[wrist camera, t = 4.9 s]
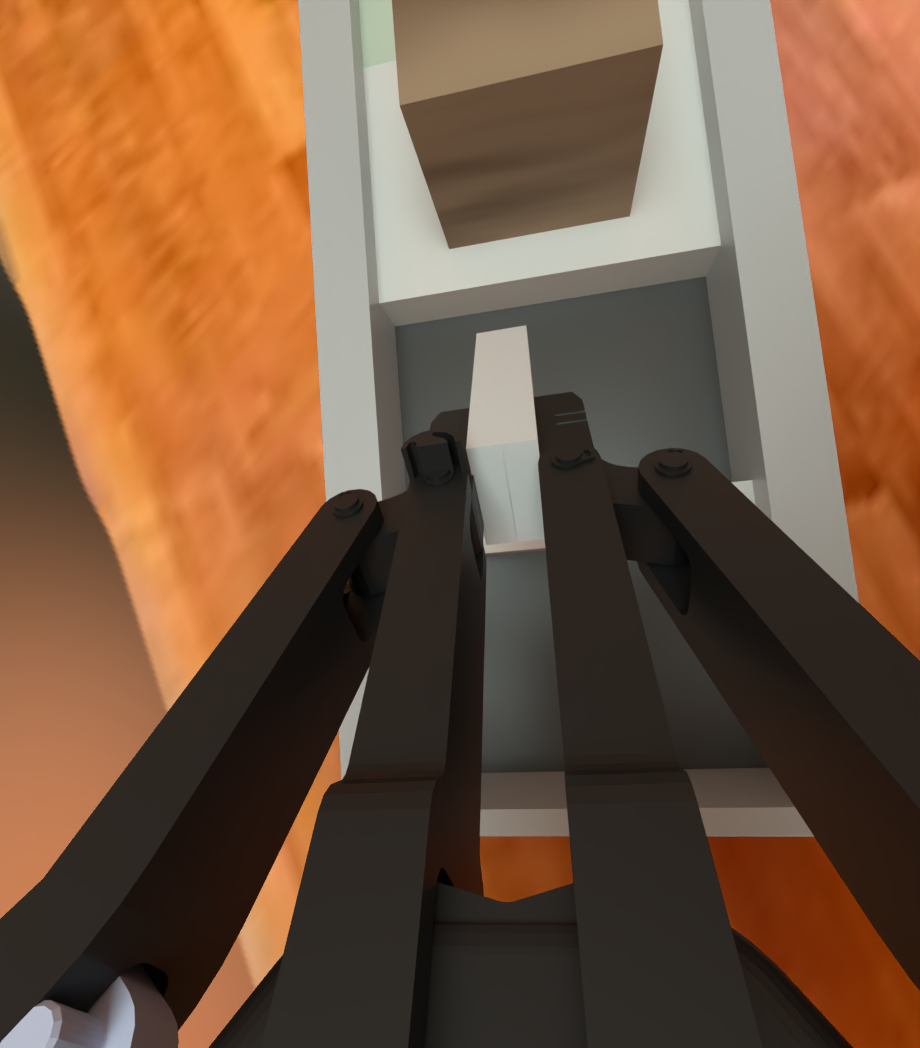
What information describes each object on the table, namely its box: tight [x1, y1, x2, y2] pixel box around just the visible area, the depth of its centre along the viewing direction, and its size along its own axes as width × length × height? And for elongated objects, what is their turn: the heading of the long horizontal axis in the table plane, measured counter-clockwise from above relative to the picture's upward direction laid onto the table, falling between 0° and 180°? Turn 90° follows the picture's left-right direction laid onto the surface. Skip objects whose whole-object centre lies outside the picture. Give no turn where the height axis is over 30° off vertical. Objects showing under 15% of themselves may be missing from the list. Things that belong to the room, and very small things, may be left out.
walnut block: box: [392, 0, 663, 249], centre depth 21 cm, size 8×8×8 cm
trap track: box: [298, 0, 859, 837], centre depth 24 cm, size 50×20×7 cm, turn 5°
